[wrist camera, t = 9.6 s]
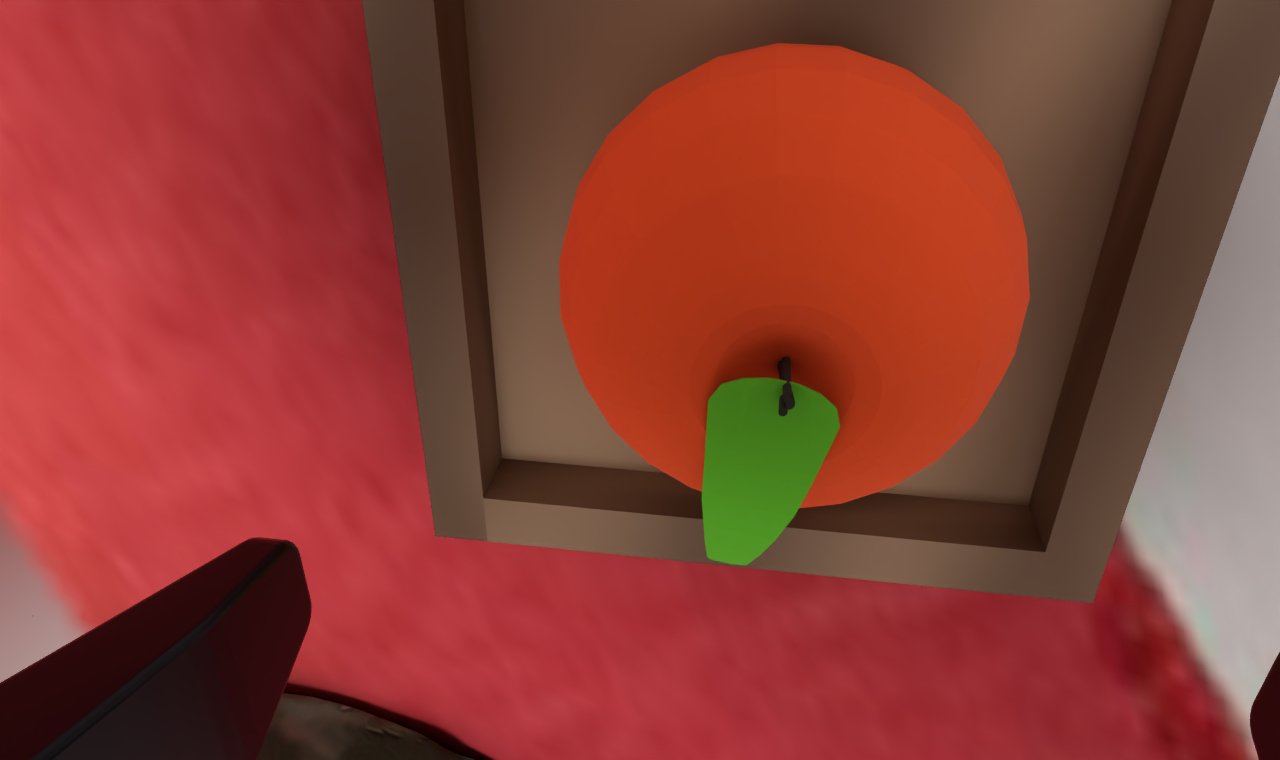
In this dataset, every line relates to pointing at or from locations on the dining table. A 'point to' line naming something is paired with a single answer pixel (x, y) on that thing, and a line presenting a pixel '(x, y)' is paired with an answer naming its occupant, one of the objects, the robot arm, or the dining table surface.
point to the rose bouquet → (342, 735)
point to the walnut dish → (1040, 178)
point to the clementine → (792, 282)
